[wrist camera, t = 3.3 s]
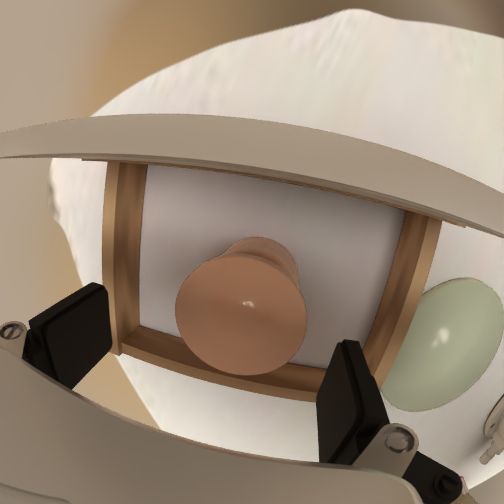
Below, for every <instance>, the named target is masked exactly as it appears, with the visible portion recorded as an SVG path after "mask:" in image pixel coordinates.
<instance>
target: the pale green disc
mask: <svg viewBox="0 0 504 504" xmlns="http://www.w3.org/2000/svg"><path fill="white" fill-rule="evenodd" d="M503 329H504V310H503V306H502V303H501V300H500V298H499V296H498V295H497V293H496V292H495V291H494V290H493V289H492V288H490V287H489V286H487V285H486V284H484V283H483V282H481V281H479V280H476V279H472V278H458V279H454V280H450V281H447V282H444V283H442V284H440V285H438V286H436V287H434V288H432V289H431V290H429V291H428V292H426V293H425V294H423V295H422V296H421V298H420V301H419V304H418V307H417V309H416V312H415V315H414V317H413V320H412V322H411V325H410V327H409V330H408V332H407V334H406V337H405V339H404V341H403V344H402V346H401V348H400V350H399V352H398V355H397V357H396V359H395V361H394V363H393V365H392V367H391V369H390V371H389V373H388V375H387V377H386V379H385V381H384V383H383V385H382V386H381V390H382V392H383V394H384V397H385V398H386V399H387V401H388V402H389V403H390V404H391V405H393V406H394V407H396V408H398V409H401V410H404V411H410V412H419V411H427V410H431V409H434V408H437V407H440V406H442V405H445V404H447V403H449V402H451V401H452V400H454V399H456V398H457V397H459V396H460V395H462V394H463V393H464V392H465V391H467V390H468V389H469V388H470V387H471V386H472V385H473V384H474V383H475V382H476V381H477V380H478V379H479V378H480V377H481V376H482V374H483V373H484V372H485V371H486V369H487V368H488V366H489V365H490V363H491V361H492V360H493V358H494V356H495V354H496V352H497V350H498V347H499V344H500V342H501V338H502V334H503Z"/></svg>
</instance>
